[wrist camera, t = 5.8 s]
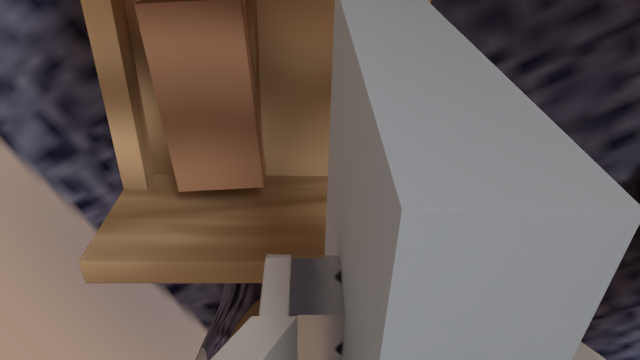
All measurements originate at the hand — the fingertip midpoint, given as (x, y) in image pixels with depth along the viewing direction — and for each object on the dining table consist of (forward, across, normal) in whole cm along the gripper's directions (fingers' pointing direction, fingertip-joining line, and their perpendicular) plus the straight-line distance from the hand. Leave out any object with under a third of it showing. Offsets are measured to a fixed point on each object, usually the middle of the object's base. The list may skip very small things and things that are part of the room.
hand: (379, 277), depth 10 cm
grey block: (+5, 0, 0) cm, 5 cm away
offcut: (+13, +6, +1) cm, 14 cm away
